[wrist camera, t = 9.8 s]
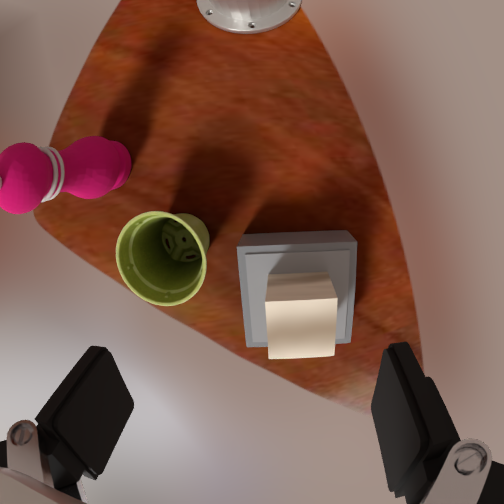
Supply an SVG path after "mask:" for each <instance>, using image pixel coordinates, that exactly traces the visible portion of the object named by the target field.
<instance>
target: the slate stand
mask: <svg viewBox="0 0 504 504" xmlns="http://www.w3.org/2000/svg"><path fill="white" fill-rule="evenodd" d="M237 255H238V266H239V276H240V287H241V297H242V307H243V317H244V327H245V337H246V346H247V347H268V338H267V324H266V309H265V297H266V289H267V281H268V274H291V273H311V272H328V274H329V276H330V279H331V282H332V284H333V287H334V290H335V293H336V295H337V298H338V300H337V320H336V336H335V344H340V343H350V341H351V332H352V322H353V310H354V298H355V282H356V263H357V241H356V240H355V239H354V237H353V236H352V235H351V234H350V233H349V232H348V231H347V230H330V231H304V232H281V233H259V234H243V235H242V237H241V239H240V241H239V243H238V245H237Z"/></svg>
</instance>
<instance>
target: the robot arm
mask: <svg viewBox="0 0 504 504" xmlns="http://www.w3.org/2000/svg"><path fill="white" fill-rule="evenodd" d="M301 2H302V0H197V6H198V8H199V10H200V12H201V14H202V15H203V17H204V18H205V19H206V20H207V21H208V22H209V23H211V24H212V25H214V26H215V27H217V28H220V29H222V30H225V31H229V32H233V33H242V34H251V33H260V32H265V31H269V30H271V29H274V28H277V27H279V26H281V25H283V24H285V23H286V22H287V21H289V20H290V19H291V18H292V17H293V16H294V15H295V14H296V13H297V12H298V10H299V8H300V6H301ZM291 6H293V7H291ZM210 14H211V15H210ZM251 27H254V28H251ZM133 408H134V402H133V399H132V397H131V395H130V393H129V391H128V389H127V387H126V385H125V383H124V381H123V378H122V376H121V374H120V372H119V370H118V367H117V365H116V363H115V361H114V358H113V356H112V354H111V353H110V352H109V351H108V349H107V348H106V347H99V346H90V347H89V349H88V350H87V351H86V352H85V353H84V355H83V356H82V357H81V358H80V360H79V361H78V362H77V363H76V365H75V366H74V367H73V369H72V370H71V371H70V372H69V374H68V375H67V376H66V378H65V379H64V380H63V381H62V383H61V384H60V385H59V387H58V388H57V389H56V391H55V392H54V393H53V395H52V396H51V397H50V399H49V400H48V401H47V403H46V404H45V405H44V407H43V408H42V409H41V411H40V412H39V414H38V415H37V416H36V418H35V420H36V421H37V422H38V425H37V426H35V424H34V423H33V422H31V421H30V420H21V421H18V422H16V423H15V424H14V425H12V427H11V428H10V429H9V431H8V433H7V440H4V441H1V442H0V504H89V503H88V500H87V498H86V494H85V491H84V488H83V485H82V481H81V476H82V474H83V475H84V476H86V477H88V478H91V479H93V480H96V479H97V477H98V475H100V474H102V473H103V471H104V469H105V466H106V464H107V462H108V460H109V458H110V456H111V454H112V452H113V450H114V448H115V445H116V443H117V441H118V439H119V437H120V435H121V433H122V431H123V429H124V427H125V425H126V423H127V420H128V419H129V417H130V415H131V413H132V411H133ZM371 411H372V416H373V420H374V423H375V428H376V432H377V436H378V441H379V445H380V449H381V454H382V459H383V463H384V468H385V473H386V478H387V483H388V488H389V490H390V492H393V491H394V492H395V497H396V498H398V497H401V496H405V498H406V503H407V504H504V465H503V464H500V463H497V462H495V461H492V455H491V451H490V449H489V447H488V446H487V445H486V444H485V443H484V442H482V441H480V440H478V439H464V440H462V441H461V440H460V438H459V435H458V433H457V431H456V429H455V426H454V424H453V422H452V419H451V417H450V415H449V413H448V411H447V408H446V406H445V404H444V402H443V400H442V398H441V396H440V394H439V391H438V390H437V388H436V385H435V383H434V381H433V380H432V379H431V378H430V377H425V375H424V373H423V371H422V369H421V367H420V365H419V363H418V361H417V359H416V357H415V355H414V353H413V351H412V350H411V348H410V346H409V344H408V343H407V342H400V343H393V344H390V345H389V347H388V349H384V351H383V355H382V360H381V365H380V369H379V374H378V378H377V383H376V387H375V391H374V395H373V399H372V403H371Z"/></svg>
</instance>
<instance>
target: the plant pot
mask: <svg viewBox="0 0 504 504" xmlns="http://www.w3.org/2000/svg"><path fill="white" fill-rule="evenodd" d="M174 220H176V221H178V222H176V223H174ZM183 237H185V238H186V241H183V240H182V238H183ZM166 238H168V243H169V246H170V248H168V246H167V244H166ZM208 247H209V233H208V230H207V228H206V226H205V224H204V223H203V222H202V221H201V220H200V219H198V218H197V217H195V216H193V215H191V214H187V213H181V214H171V213H168V212H163V211H151V212H146V213H143V214H140V215H138V216H136V217H134V218H133V219H132V220H130V221H129V222H128V223H127V224H126V225H125V227H124V228H123V230H122V231H121V233H120V235H119V237H118V241H117V245H116V261H117V266H118V269H119V272H120V274H121V276H122V278H123V280H124V281H125V283H126V284H127V285H128V287H129V288H130V289H131V290H132V291H133V292H134V293H135V294H136V295H138V296H139V297H141V298H142V299H144V300H146V301H148V302H150V303H153V304H156V305H161V306H173V305H177V304H181V303H183V302H185V301H187V300H189V299H190V298H191V297H192V296H194V295H195V294H196V293H197V291H198V290H199V288H200V287H201V285H202V283H203V281H204V278H205V274H206V268H207V260H206V253H207V250H208ZM191 255H196V256H195V257H193V258H191V259H187V258H186V256H191Z"/></svg>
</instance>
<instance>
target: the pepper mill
mask: <svg viewBox="0 0 504 504" xmlns="http://www.w3.org/2000/svg"><path fill="white" fill-rule="evenodd" d="M130 171H131V157H130V154H129V152H128V150H127V148H126V147H125V146H124V145H123V144H121V143H119V142H117V141H109V140H107V139H105V138H103V137H100V136H90V137H85V138H82V139H80V140H77V141H76V142H74V143H73V144H71V145H70V146H69V147H67V148H66V149H64V150H61V151H57V150H55V149H54V148H52V147H37V146H35V145H34V144H31V143H25V142H24V143H17V144H14V145H12V146H9V147H8V148H6V149H5V150H4V151H3V152H2V153H1V154H0V207H1V208H2V209H4V210H5V211H7V212H9V213H12V214H22V213H26V212H29V211H31V210H33V209H34V208H36V207H37V206H38V205H39V204H40V203H41V202H44V201H46V200H51V199H53V198H54V197H56V196H57V194H58V193H59V192H69V193H71V194H73V195H75V196H77V197H80V198H85V199H92V198H98V197H101V196H103V195H105V194H106V193H108V192H109V191H110V190H113V189H117V188H119V187H120V186H122V185H123V184H124V183H125V182H126V180H127V178H128V176H129V174H130Z"/></svg>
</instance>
